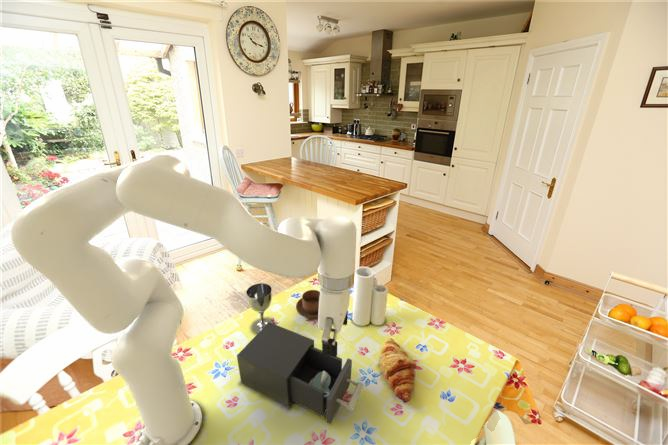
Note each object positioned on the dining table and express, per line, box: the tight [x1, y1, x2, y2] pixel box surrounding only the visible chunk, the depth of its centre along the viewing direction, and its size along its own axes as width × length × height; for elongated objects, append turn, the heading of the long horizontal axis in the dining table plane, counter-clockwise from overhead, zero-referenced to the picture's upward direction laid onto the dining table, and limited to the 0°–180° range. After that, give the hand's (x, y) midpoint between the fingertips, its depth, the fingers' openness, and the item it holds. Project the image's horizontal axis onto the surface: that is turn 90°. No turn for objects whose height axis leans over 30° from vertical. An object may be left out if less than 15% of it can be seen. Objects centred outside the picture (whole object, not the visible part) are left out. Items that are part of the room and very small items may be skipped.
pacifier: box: [309, 371, 331, 398], centre depth 75 cm, size 7×6×6 cm
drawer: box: [288, 346, 364, 425], centre depth 75 cm, size 19×12×9 cm, turn 64°
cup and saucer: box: [295, 289, 320, 319], centre depth 106 cm, size 12×12×6 cm
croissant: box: [378, 337, 417, 404], centre depth 83 cm, size 21×10×8 cm, turn 3°
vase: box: [351, 265, 389, 327], centre depth 100 cm, size 11×7×20 cm, turn 95°
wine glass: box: [245, 282, 274, 335], centre depth 96 cm, size 8×8×15 cm
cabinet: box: [236, 322, 315, 409], centre depth 80 cm, size 16×14×11 cm
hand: (335, 337), depth 67 cm, fingers open, 9 cm apart
